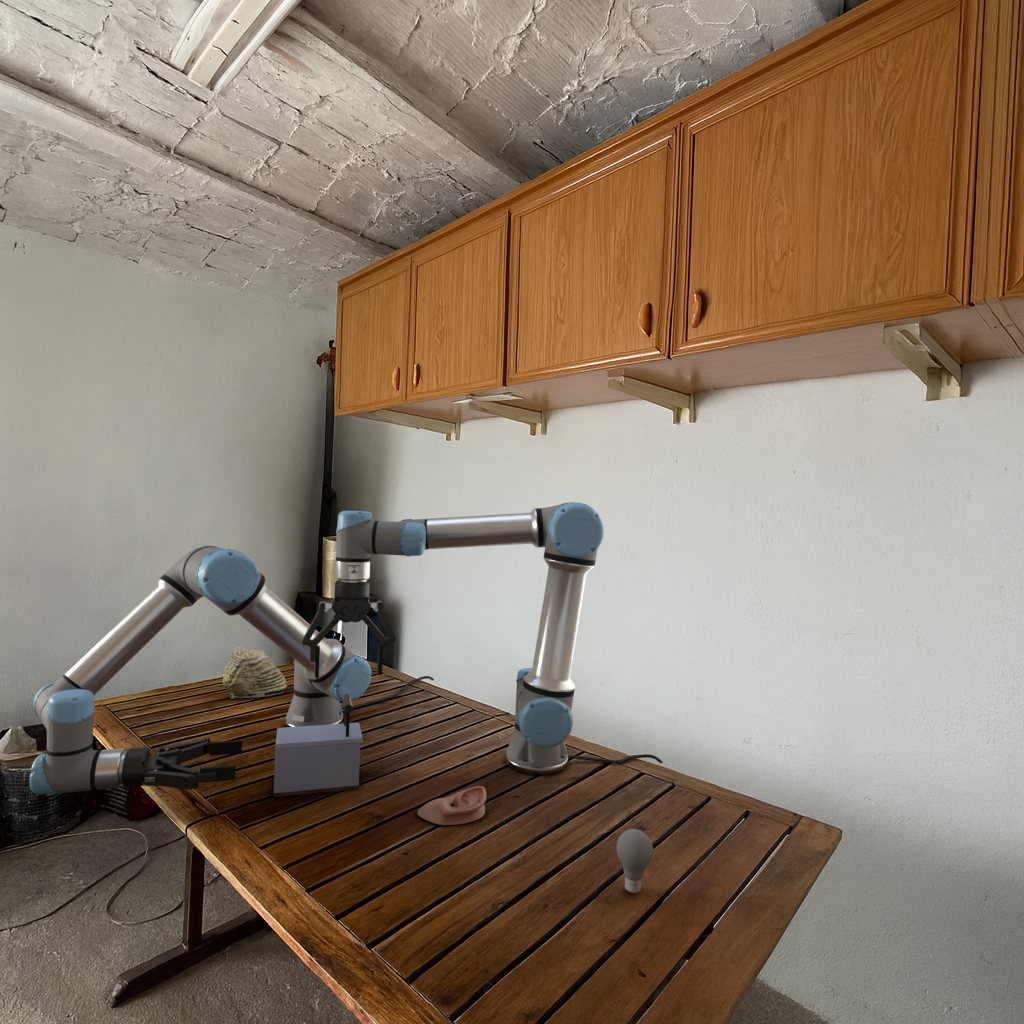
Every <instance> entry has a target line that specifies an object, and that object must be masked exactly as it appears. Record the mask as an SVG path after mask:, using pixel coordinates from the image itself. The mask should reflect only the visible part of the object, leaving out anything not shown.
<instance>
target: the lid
mask: <svg viewBox="0 0 1024 1024" xmlns="http://www.w3.org/2000/svg"><path fill="white" fill-rule="evenodd" d="M341 702H342V707H344V710H343V723H341V724H330V725H315V726H300V727H287V726H284V727H276V736H275V748H274V749H278V748H292V747H305V746H319V745H332V744H345V743H359V742H360V743H363V734H362V729H361V725H360V722H351V721H350V717H351V713H352V712H353V711H354V709H353V706H354V705H353V701H351V697H350V695H349V694H344V695H343V696H342V701H341Z"/></svg>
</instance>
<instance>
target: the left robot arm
mask: <svg viewBox="0 0 1024 1024" xmlns="http://www.w3.org/2000/svg"><path fill="white" fill-rule="evenodd" d="M256 565H257V564H255V562H254V561H253V560H252V559H251V558H250V557H249V556H248V555H246V554H245V553H243V552H241V551H239V550H235V549H231V548H223V547H219V546H216V545H202V546H199V547H196V548H193V549H192V550H190V551H189V552H187V553H186V554H184V555H183V556H182V557H181V558H180V559H179V560H178V561H176V563H174V564H173V565H172V566H171V567H170V568H169V569H168V570H166V572H164V574H162V575H161V577H159V578H158V580H157V586H156V587H155V588H154V589H153V590H152V591H151V592H149V594H148V595H147V596H146V597H145V598H143V600H142V601H140V602H139V603H138V604H137V605H136V606H135V607H134V608H133V609H132V610H131V611H130V612H129V613H128V614H127V615H126V616H125V617H123V618H122V619H121V621H119V622H118V623H117V624H116V625H115V626H114V627H113V628H112V629H111V630H110V631H109V632H108V633H106V635H105V636H104V637H102V638H101V639H100V640H99V641H98V642H97V643H96V644H95V645H94V646H93V647H92V648H91V649H90V650H89V651H87V652H86V653H85V654H84V655H83V656H82V657H81V658H80V659H79V660H78V661H77V662H76V663H75V664H74V665H73V666H72V667H71V668H70V669H68V670H67V672H65V673H64V674H63V675H61V677H59V678H58V679H57V680H56V681H55V682H51V683H48V684H46V685H43V686H42V687H41V688H40V689H39V690H38V691H37V692H36V693H35V695H34V698H33V709H34V713H35V715H36V717H37V718H38V719H39V720H40V721H41V723H42V725H43V726H44V728H45V729H46V751H45V753H42V754H39V755H37V757H36V758H35V759H34V761H33V762H32V765H31V768H30V774H29V780H28V781H29V782H28V783H29V788H30V790H31V792H32V793H33V794H34V795H35V794H36V795H63V794H70V793H79V792H88V791H102V790H105V791H106V792H110V791H111V790H113V789H120V788H121V787H124V788H125V789H127V788H141V787H144V786H145V787H152V786H155V787H164V788H173V789H179V790H180V789H181V790H197V789H199V787H200V786H199V785H200V784H205V783H215V782H216V783H217V782H225V781H228V782H229V781H235V780H236V773H237V764H233V765H220V766H208V767H200V768H199V770H198V769H194V768H190V767H186V766H184V765H182V764H183V763H186V762H189V761H191V760H195V759H198V758H200V757H203V756H206V755H209V757H211V756H223V755H224V756H225V755H237V754H243V739H237V740H236V739H235V740H222V741H212V740H211V737H205V738H202V739H197V740H192V741H187V742H183V743H178V744H174V745H168V746H161V747H159V748H158V753H154V754H152V753H151V749H150V748H149V747H148V746H139V747H137V746H136V747H129V749H126V748H125V747H119V748H107V749H98V750H97V749H93V746H94V745H93V743H94V742H93V740H94V721H95V711H96V706H95V695H97V693H98V692H100V691H101V689H102V688H103V687H104V686H106V684H107V683H108V682H109V681H111V679H112V678H113V677H115V675H117V674H118V673H119V672H120V671H121V670H122V669H123V668H124V667H125V666H126V665H127V664H128V663H129V662H131V660H132V659H133V658H134V657H135V656H136V655H137V654H138V653H139V652H140V651H141V650H142V649H143V648H144V647H145V646H146V645H148V643H149V642H150V641H152V640H153V639H154V637H155V636H157V635H158V634H159V632H161V631H162V629H164V628H165V627H166V626H167V625H168V624H169V623H170V622H171V621H172V620H173V619H174V618H175V617H176V616H177V615H178V614H179V613H181V611H183V609H185V608H190V607H193V605H194V604H196V602H198V601H199V600H200V599H201V598H203V597H204V598H206V599H207V600H208V601H210V602H211V603H212V604H213V605H215V606H216V607H217V608H218V609H220V610H221V611H222V612H224V613H225V614H226V615H228V616H237V615H239V616H240V617H241V618H242V619H244V620H245V621H246V622H247V623H249V624H250V625H251V626H252V627H253V628H254V629H256V630H257V631H259V632H260V633H261V634H263V635H264V636H265V637H266V638H267V639H269V640H270V641H271V642H272V643H274V644H275V645H276V646H277V647H279V648H280V649H281V650H282V651H283V652H284V653H286V654H287V655H288V656H289V657H291V658H292V659H294V672H293V695H292V696H293V697H292V699H291V702H290V704H289V708H288V711H287V713H286V715H285V727H300V726H315V725H330V724H343V723H344V707H343V706H341V702H342V696H343V695H344V694H349V695H350V697H351V702H353V701H357V700H358V699H359V698H361V697H362V696H363V695H364V694H365V693H366V691H367V689H368V688H369V686H370V683H371V680H372V668H371V665H370V664H369V662H368V661H367V660H366V659H365V658H364V657H362V656H359V655H358V656H357V655H356V654H354V653H353V652H352V651H350V649H348V648H347V647H346V646H345V645H343V644H342V643H341V641H339V640H338V639H336V638H326V636H325V637H324V638H323V639H322V641H321V642H320V643H319V644H318V645H320V658H319V678H315V662H311V660H310V649H311V648H310V647H309V646H307V645H303V644H302V639H303V637H304V635H305V634H306V632H307V630H308V628H309V626H310V625H311V623H309V622H308V621H306V620H305V619H304V618H303V617H302V616H301V615H300V614H299V613H297V612H296V611H295V610H294V609H293V608H291V607H290V606H289V605H288V604H287V603H286V602H285V601H283V600H282V598H279V596H277V594H275V592H273V591H271V589H270V588H268V587H267V578H266V576H265V575H264V574H262V573H261V572H260V571H259V570H258V567H257V566H256ZM319 632H320V631H318V630H317V629H316V630H315V631H314V633H313V635H312V637H311V640H313V639H314V638H315V636H316V635H317V634H318V633H319ZM425 679H429V680H430V681H435V679H434V677H432V676H430V675H424V676H420V677H418V678H415V679H413V680H410V681H408V682H407V683H406V684H404V686H402V687H401V688H400V689H399V690H398V691H396V692H395V693H393V694H390V695H388V696H384V697H381V698H377V699H373V700H369V701H366V702H362V703H359V704H353V705H352V706H353V710H354V709H357V708H361V707H365V706H369V705H373V704H376V703H380V702H384V701H387V700H390V699H393V698H395V697H397V696H398V695H400V694H401V693H402V692H403V691H404V690H406V689H407V688H408V687H409V686H410V685H411V684H414V683H416V682H420V681H422V680H425Z"/></svg>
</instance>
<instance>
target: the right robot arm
mask: <svg viewBox="0 0 1024 1024" xmlns="http://www.w3.org/2000/svg"><path fill="white" fill-rule="evenodd" d="M335 533H336V539H335V540H336V542H335V543H336V545H335V547H336V548H335V565H334V567H335V568H334V578H335V579H336V580H335V582H334V591H333V592H334V593H333V594H334V595H333V601H332V602H326V601H324V600H321V601H319V604H318V610H317V612H316V614H315V615H314V617H313V619H312V620H311V623H310V626H309V628H308V630H307V632H306V634H305V635H304V637H303V639H302V644H303V645H307V646H309V647H310V648H311V649H310V660H311V662H315V678H319V658H320V645H318V644H319V643H320V642H321V641H322V639H323V638H324V637H325V638H326V636H328V634H329V633H330V632H331V631H332V630H333V629H334V628H335V626H336V625H338V624H339V622H340V621H341V622H343V623H359V622H361V621H363V623H364V624H365V625H366V626H367V627H368V628H369V630H370V631H371V632H372V633H373V635H374V636H375V637H376V638H377V639H378V640H379V641H380V643H378V645H377V664H376V665H377V667H376V672H377V675H378V676H382V675H383V660H387V659H388V651H389V646H390V644H394V643H396V642H397V637H396V635H395V633H394V631H393V629H392V626H391V624H390V622H389V620H388V619H387V616H386V614H385V612H384V603H383V602H382V600H377V601H373V602H370V582H369V579H370V578H371V577H370V576H371V555H383V556H384V555H386V556H401V557H402V556H403V557H404V556H405V557H420V556H422V555H424V554H425V551H427V550H442V549H461V548H480V547H496V546H498V547H499V546H514V545H515V546H517V545H533V546H534V547H535V548H537V549H539V548H544V551H543V552H544V553H543V560H544V562H545V563H546V564H547V566H548V570H547V576H546V582H545V588H544V594H543V599H542V606H541V613H540V619H539V625H538V632H537V637H536V643H535V649H534V650H535V652H534V656H533V662H532V667H525V668H521V669H519V670H518V671H517V675H516V679H515V682H516V689H515V691H516V693H515V715H514V731H513V733H512V736H511V738H510V741H509V744H508V747H507V748H506V752H505V762H506V764H507V765H508V767H510V768H512V769H513V770H515V771H518V772H521V773H524V774H528V775H529V774H530V775H538V776H539V775H540V776H541V775H542V776H543V775H553V774H558V773H560V772H563V771H564V770H566V768H567V767H568V766H569V765H568V763H569V759H571V760H572V759H574V760H580V761H581V760H583V761H590V762H599V763H605V764H622V763H625V762H627V761H630V760H633V759H634V760H635V759H643V758H644V759H645V758H647V759H653V760H655V761H657V762H658V763H659V764H663V763H664V762H663V761H662V759H660V758H659V757H658V756H656V755H653V754H650V753H649V754H648V753H646V754H645V753H643V754H633V755H628V756H625V757H624V758H621V759H607V758H600V757H591V756H583V755H573V754H568V751H567V747H566V744H565V741H566V740H567V739H568V737H569V736H570V734H571V732H572V729H573V725H574V719H573V718H574V716H573V713H572V709H573V702H574V695H575V690H576V686H575V683H574V682H573V681H572V679H571V672H572V666H573V660H574V653H575V647H576V641H577V635H578V629H579V622H580V617H581V616H580V615H581V611H582V605H583V597H584V593H585V592H584V591H585V587H586V579H587V574H588V573H589V572H590V571H591V570H592V569H594V568H595V567H596V560H597V556H598V549H599V548H600V546H601V544H602V542H603V539H604V535H605V528H604V523H603V521H602V518H601V517H600V515H599V513H598V512H597V510H595V509H594V508H593V507H591V506H590V505H588V504H587V503H584V502H583V503H582V502H574V501H571V502H563V503H560V504H557V505H552V506H547V507H536V508H533V509H532V510H531V511H529V512H520V513H519V512H518V513H506V514H505V513H503V514H486V515H485V514H484V515H471V516H470V515H469V516H453V517H451V516H450V517H449V516H448V517H433V518H432V517H431V518H418V519H417V518H415V519H413V518H405V519H402V520H399V521H389V520H388V521H385V520H384V521H383V520H382V521H381V520H375V519H374V517H373V513H372V512H371V511H363V510H342V511H340V512H339V513H338V515H337V525H336V530H335ZM371 608H372V609H373V611H374V612H375V613H377V615H378V616H379V619H380V621H381V623H382V625H383V627H384V629H385V631H386V634H387V635H388V636H387V637H385V635H384V634H383V633H382V631H381V630H380V629H379V628H378V627H377V625H376V624H375V623H374V622H373V621H372V620H371V618H370V617H369V616H368V615H367V614H368V612H370V610H371ZM330 609H331V610H332V611H333V612H334V615H333V616H332V617H331V618H330V620H329V621H328V622H327V623H326V624H325V625H324V626H323V627H322V629H321V630H320V631H318V632H319V633H318V634H317V635H316V636H315V638H314V639H313V640H311V637H312V635H313V633H314V631H315V630H317V628H318V626H319V624H320V622H321V621H322V619H323V617H324V614H325V613H328V612H329V610H330Z"/></svg>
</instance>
